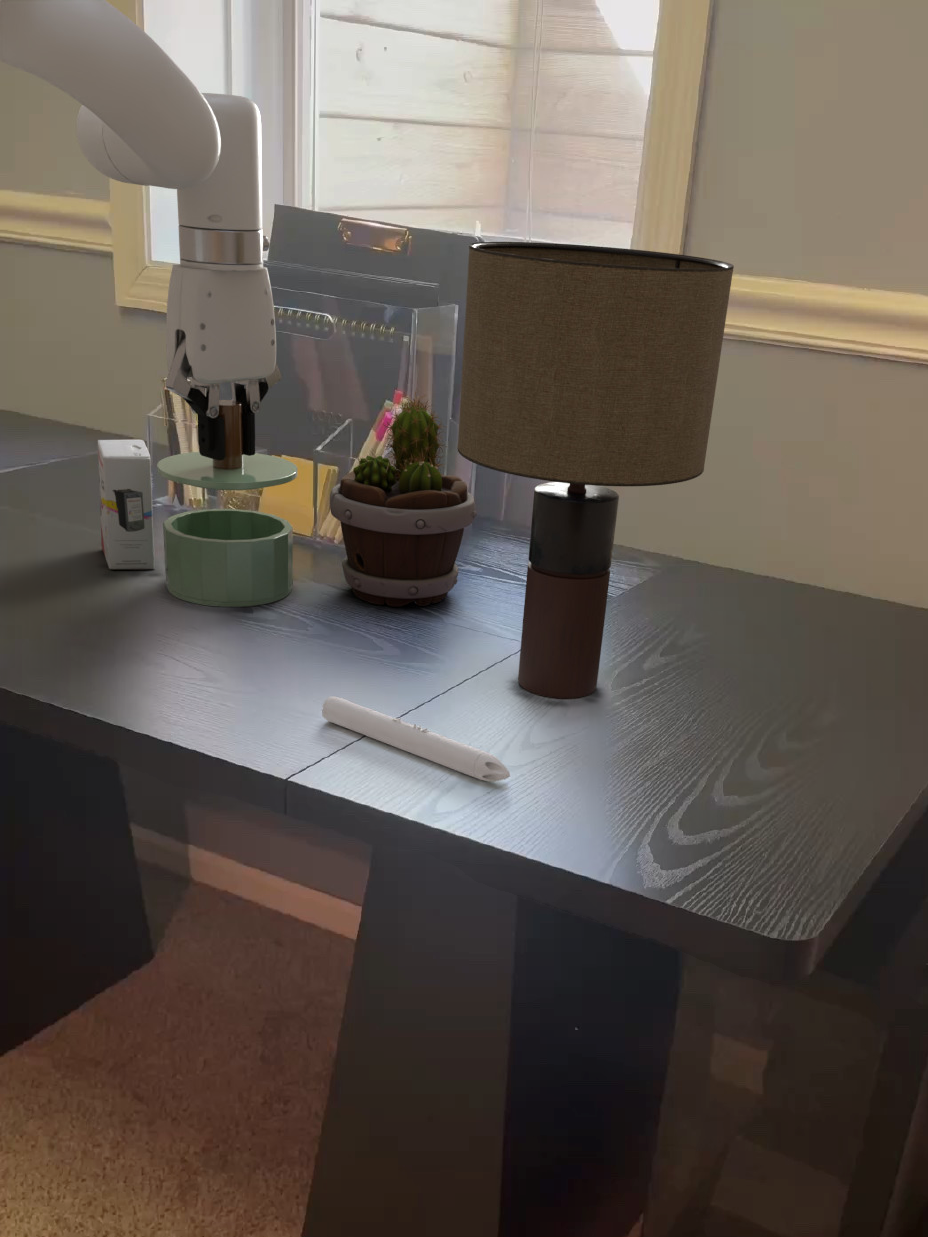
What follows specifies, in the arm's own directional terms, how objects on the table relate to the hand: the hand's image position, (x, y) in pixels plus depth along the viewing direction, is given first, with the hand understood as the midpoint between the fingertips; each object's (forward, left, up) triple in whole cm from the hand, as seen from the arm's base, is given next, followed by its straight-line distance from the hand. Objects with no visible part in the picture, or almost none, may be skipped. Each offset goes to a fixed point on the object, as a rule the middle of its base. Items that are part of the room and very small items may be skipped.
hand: (227, 453), depth 127 cm
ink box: (-9, +11, -14) cm, 20 cm away
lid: (0, 0, -2) cm, 2 cm away
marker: (+7, -43, -14) cm, 46 cm away
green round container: (0, 0, -14) cm, 14 cm away
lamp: (+24, -31, -14) cm, 41 cm away
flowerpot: (+17, -4, -14) cm, 22 cm away
